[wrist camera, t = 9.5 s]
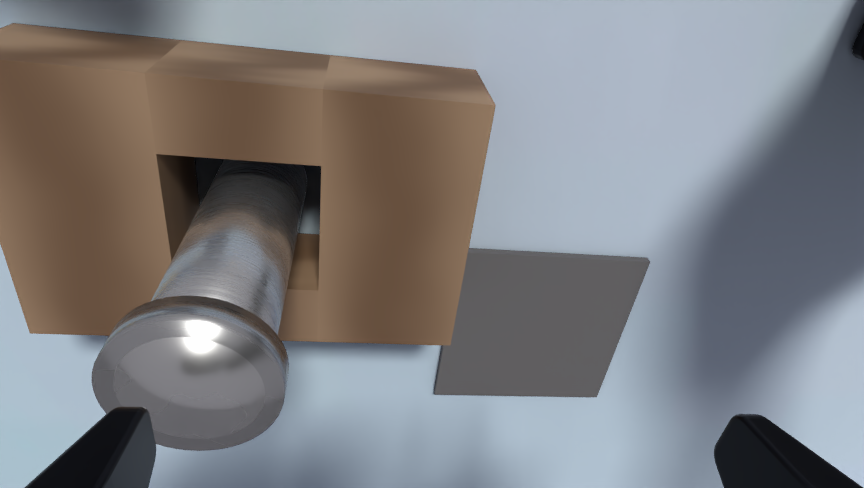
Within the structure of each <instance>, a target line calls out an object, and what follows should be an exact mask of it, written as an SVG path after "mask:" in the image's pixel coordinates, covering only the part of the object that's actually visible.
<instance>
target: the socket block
mask: <svg viewBox="0 0 864 488" xmlns="http://www.w3.org/2000/svg"><path fill="white" fill-rule="evenodd" d="M494 111H495V103H494V102H493V100H492V98H491V96H490V94H489V93H488V91H487V89H486V87H485V85H484V84H483V82H482V80H481V78H480V76H479V75H478V73H477V71H476V70H472V69H462V68H452V67H442V66H432V65H422V64H412V63H402V62H392V61H383V60H373V59H363V58H353V57H343V56H333V55H323V54H313V53H303V52H293V51H284V50H274V49H264V48H254V47H244V46H234V45H224V44H214V43H204V42H194V41H184V40H175V39H165V38H155V37H145V36H135V35H125V34H115V33H105V32H95V31H85V30H75V29H66V28H56V27H46V26H36V25H26V24H16V23H12V24H10V25H7V26H5V27H3V28H0V244H1V247H2V250H3V253H4V256H5V259H6V262H7V265H8V268H9V271H10V274H11V277H12V280H13V283H14V286H15V289H16V292H17V295H18V298H19V301H20V304H21V307H22V310H23V313H24V316H25V319H26V323H27V326H28V329H29V332H30V333H36V334H71V335H105V336H109V335H110V334H111V332H112V330H113V328H114V327H115V326H116V324H117V323H118V322H119V321H120V320H121V319H122V318H123V317H124V316H125V315H126V314H127V313H129V312H130V311H132V310H133V309H134V308H136V307H138V306H140V305H142V304H144V303H147V302H150V301H151V300H152V298H153V296H154V294H155V292H156V290H157V288H158V286H159V284H160V282H161V281H162V279H163V277H164V275H165V273H166V271H167V269H168V267H169V265H170V263H171V261H172V259H173V257H174V255H175V253H176V251H177V250H178V248H179V246H180V244H181V242H182V240H183V238H184V236H185V234H186V232H187V230H188V228H189V226H190V224H191V222H192V220H193V219H194V217H195V215H196V213H197V211H198V209H199V207H200V205H199V195H198V186H197V176H196V167H195V157H203V158H217V159H230V160H244V161H258V162H272V163H285V164H299V165H313V166H321V199H320V235H319V234H301V233H298V235H297V240H296V245H295V250H294V255H293V260H292V265H291V270H290V275H289V280H288V285H287V290H286V295H285V300H284V305H283V310H282V315H281V320H280V325H279V330H278V337H279V338H280V340H281V341H312V342H346V343H380V344H415V345H449V346H450V345H451V339H452V334H453V329H454V324H455V318H456V313H457V308H458V302H459V297H460V292H461V286H462V281H463V276H464V270H465V265H466V260H467V254H468V249H469V244H470V238H471V233H472V228H473V222H474V217H475V212H476V207H477V201H478V196H479V191H480V185H481V180H482V175H483V169H484V164H485V159H486V153H487V148H488V143H489V137H490V132H491V127H492V121H493V116H494Z"/></svg>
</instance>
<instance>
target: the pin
mask: <svg viewBox="0 0 864 488" xmlns="http://www.w3.org/2000/svg"><path fill="white" fill-rule="evenodd" d="M306 190H307V175H306V171H305V168H304V166H303V165H299V164H285V163H272V162H258V161H244V160H230V159H224V160H223V162H222V164H221V166H220V168H219V170H218V172H217V174H216V176H215V178H214V180H213V182H212V184H211V186H210V188H209V189H208V191H207V193H206V195H205V197H204V199H203V201H202V203H201V205H200V207H199V209H198V211H197V213H196V215H195V217H194V219H193V220H192V222H191V224H190V226H189V228H188V230H187V232H186V234H185V236H184V238H183V240H182V242H181V244H180V246H179V248H178V250H177V251H176V253H175V255H174V257H173V259H172V261H171V263H170V265H169V267H168V269H167V271H166V273H165V275H164V277H163V279H162V281H161V282H160V284H159V286H158V288H157V290H156V292H155V294H154V296H153V298H152V300H151V301H150V302H147V303H144V304H142V305H140V306H138V307H136V308H134V309H133V310H132V311H130V312H129V313H127V314H126V315H125V316H124V317H123V318H122V319H121V320H120V321H119V322H118V323H117V324H116V326H115V327H114V328H113V330H112V332H111V334H110V335H109V337H108V339H107V341H106V343H105V344H104V346H103V348H102V350H101V351H100V353H99V355H98V357H97V359H96V361H95V363H94V366H93V371H92V386H93V391H94V393H95V396H96V399H97V400H98V402H99V404H100V406H101V407H102V408H103V410H104V411H105V412H106V414H107V413H108V412H110V411H111V410H112V409H114V408H117V407H145V408H146V409H147V410H148V411H149V414H150V418H151V423H152V428H153V433H154V438H155V443H156V444H158V445H162V446H165V447H170V448H175V449H183V450H197V451H202V450H216V449H223V448H228V447H232V446H236V445H239V444H242V443H244V442H247V441H249V440H251V439H253V438H255V437H257V436H258V435H260V434H261V433H263V432H264V431H265V430H267V429H268V428H269V427H270V426H271V425H272V424H273V423H274V421H275V420H276V418H277V417H278V415H279V413H280V411H281V409H282V406H283V402H284V397H285V391H286V385H287V379H288V371H289V362H288V356H287V352H286V349H285V347H284V345H283V343H282V341H281V340H280V338H279V337H278V330H279V325H280V320H281V315H282V310H283V305H284V300H285V295H286V290H287V285H288V280H289V275H290V270H291V265H292V260H293V255H294V250H295V245H296V240H297V235H298V230H299V225H300V220H301V215H302V210H303V205H304V200H305V195H306Z"/></svg>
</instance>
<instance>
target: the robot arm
mask: <svg viewBox="0 0 864 488" xmlns="http://www.w3.org/2000/svg"><path fill="white" fill-rule="evenodd" d="M852 50H853V54H854V56H855V57H857V58H859V59H862V60H864V24H863V26H862V28H861V30H860V32H859V34H858V36H857V38H856V40H855V42H854V45H853V48H852ZM155 456H156V443H155V438H154V433H153V428H152V423H151V418H150V414H149V411H148V410H147V409H146V408H145V407H117V408H114V409H112V410H111V411H110V412H108V413H107V414H106V415H105V416H104V417H103V418H102V419H101V420H100V421H98V422H97V423H96V424H95V425H94V426H93V427H92V428H91V429H89V430H88V431H87V432H86V433H85V434H84V435H83V436H82V437H81V438H79V439H78V440H77V441H76V442H75V443H74V444H73V445H72V446H71V447H69V448H68V449H67V450H66V451H65V452H64V453H63V454H62V455H60V456H59V457H58V458H57V459H56V460H55V461H54V462H53V463H52V464H50V465H49V466H48V467H47V468H46V469H45V470H44V471H43V472H41V473H40V474H39V475H38V476H37V477H36V478H35V479H34V480H33V481H31V482H30V483H29V484H28V485H27V486H26V487H25V488H148V487H149V482H150V478H151V474H152V470H153V466H154V462H155ZM714 458H715V463H716V466H717V469H718V471H719V474H720V477H721V480H722V483H723V486H724V488H863V487H861V486H860V485H859V484H857V483H856V482H854V481H853V480H852V479H850V478H849V477H847V476H846V475H845V474H843V473H842V472H841V471H839V470H838V469H836V468H835V467H834V466H832V465H831V464H829V463H828V462H827V461H825V460H824V459H822V458H821V457H820V456H818V455H817V454H816V453H814V452H813V451H811V450H810V449H809V448H807V447H806V446H804V445H803V444H802V443H800V442H799V441H797V440H796V439H795V438H793V437H792V436H791V435H789V434H788V433H786V432H785V431H784V430H782V429H781V428H779V427H778V426H777V425H775V424H774V423H772V422H771V421H770V420H768V419H767V418H765V417H763V416H761V415H756V414H738V415H735V416H734V417H732V419H731V420H730V421H729V423H728V425H727V427H726V428H725V430H724V432H723V433H722V435H721V437H720V438H719V440H718V442H717V443H716V446H715V449H714Z"/></svg>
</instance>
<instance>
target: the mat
mask: <svg viewBox="0 0 864 488" xmlns="http://www.w3.org/2000/svg"><path fill="white" fill-rule="evenodd" d="M649 264H650V261H649V260H648V258H639V257H621V256H602V255H584V254H566V253H547V252H529V251H511V250H492V249H474V248H469V249H468V254H467V260H466V265H465V270H464V276H463V281H462V286H461V292H460V297H459V302H458V308H457V313H456V318H455V324H454V329H453V334H452V339H451V345H450V346H449V345H442V348H441V353H440V359H439V365H438V370H437V376H436V382H435V387H434V393H435V395H495V396H557V397H597V395H598V392H599V390H600V387H601V385H602V382H603V380H604V377H605V375H606V372H607V370H608V367H609V365H610V362H611V360H612V357H613V355H614V352H615V349H616V347H617V344H618V342H619V339H620V337H621V334H622V332H623V329H624V327H625V324H626V322H627V319H628V317H629V314H630V312H631V309H632V307H633V304H634V301H635V299H636V296H637V294H638V291H639V289H640V286H641V284H642V281H643V279H644V276H645V274H646V271H647V269H648V266H649Z"/></svg>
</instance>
